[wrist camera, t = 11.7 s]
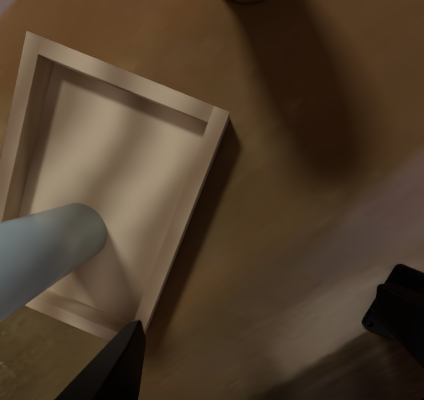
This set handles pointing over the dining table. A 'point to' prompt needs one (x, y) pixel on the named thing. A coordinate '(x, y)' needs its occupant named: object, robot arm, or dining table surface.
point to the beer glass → (246, 1)
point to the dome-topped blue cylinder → (45, 251)
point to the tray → (106, 175)
